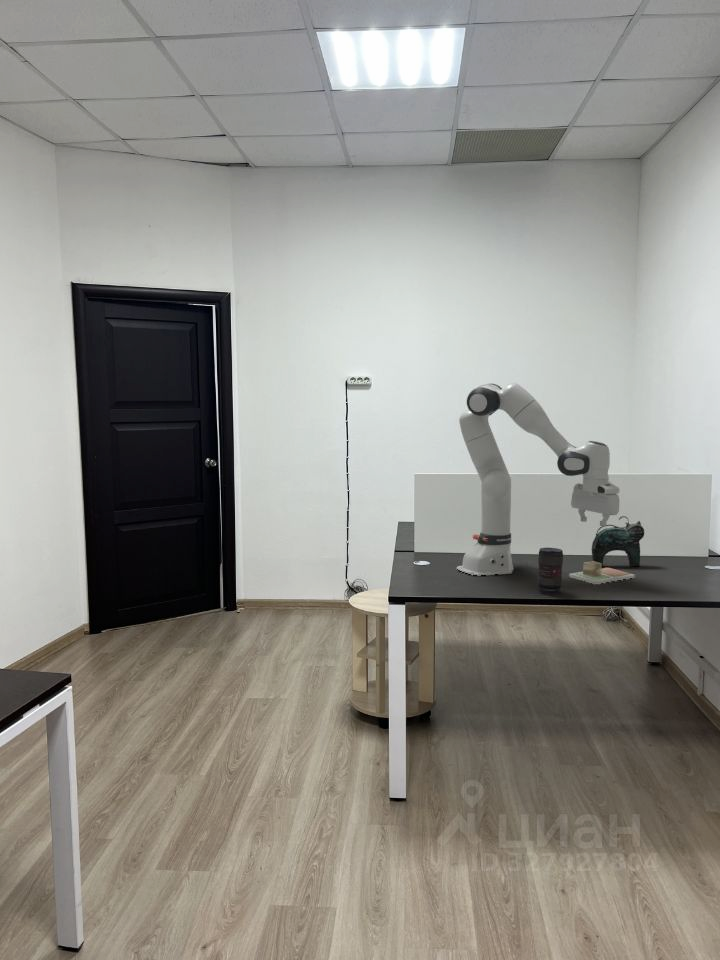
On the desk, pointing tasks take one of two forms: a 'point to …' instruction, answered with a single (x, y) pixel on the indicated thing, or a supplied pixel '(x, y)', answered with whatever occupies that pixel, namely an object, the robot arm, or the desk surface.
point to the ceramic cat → (619, 542)
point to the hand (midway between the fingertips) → (593, 523)
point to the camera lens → (550, 570)
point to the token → (592, 568)
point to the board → (603, 576)
